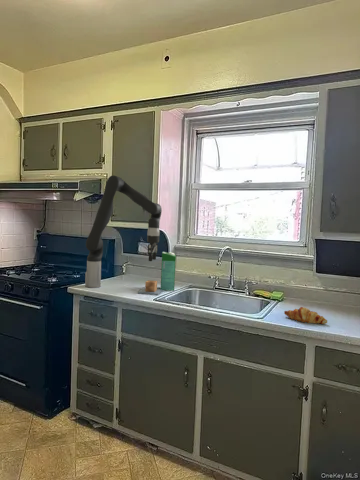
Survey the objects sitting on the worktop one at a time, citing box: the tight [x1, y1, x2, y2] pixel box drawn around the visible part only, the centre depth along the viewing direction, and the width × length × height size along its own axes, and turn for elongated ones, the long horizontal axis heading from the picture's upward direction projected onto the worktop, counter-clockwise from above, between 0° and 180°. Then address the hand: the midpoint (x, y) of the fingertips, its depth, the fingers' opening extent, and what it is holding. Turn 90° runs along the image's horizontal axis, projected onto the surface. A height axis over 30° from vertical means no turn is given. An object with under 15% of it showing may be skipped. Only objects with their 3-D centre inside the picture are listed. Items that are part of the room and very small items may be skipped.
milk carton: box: [160, 251, 177, 292], centre depth 239 cm, size 9×9×25 cm
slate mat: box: [137, 287, 164, 296], centre depth 228 cm, size 13×13×1 cm
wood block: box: [144, 280, 158, 292], centre depth 227 cm, size 6×6×6 cm
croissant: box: [283, 306, 328, 325], centre depth 179 cm, size 21×10×8 cm, turn 58°
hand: (152, 260), depth 226 cm, fingers open, 8 cm apart
